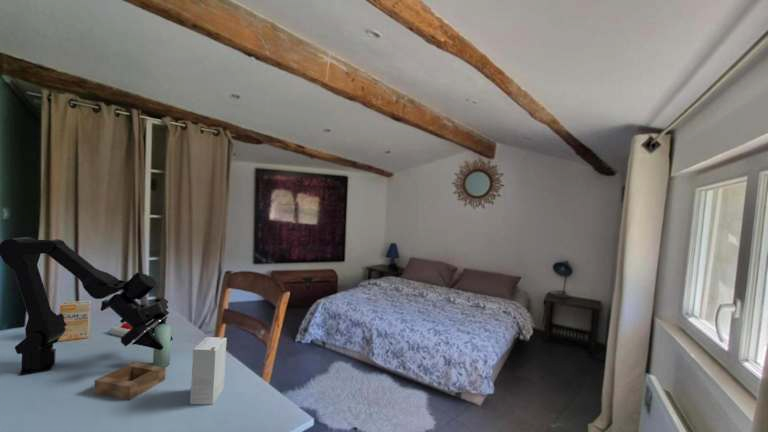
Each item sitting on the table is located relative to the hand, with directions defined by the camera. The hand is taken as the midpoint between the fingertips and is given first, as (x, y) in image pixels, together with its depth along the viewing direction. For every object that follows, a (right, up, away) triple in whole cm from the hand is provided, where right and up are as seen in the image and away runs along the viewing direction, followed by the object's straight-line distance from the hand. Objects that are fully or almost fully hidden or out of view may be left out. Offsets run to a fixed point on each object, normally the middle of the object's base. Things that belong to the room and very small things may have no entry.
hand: (167, 344), depth 109 cm
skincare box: (+21, -8, -16) cm, 28 cm away
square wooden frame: (-2, -7, -13) cm, 15 cm away
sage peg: (-2, -7, 0) cm, 7 cm away
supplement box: (-44, -4, +17) cm, 47 cm away
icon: (-29, -5, +25) cm, 38 cm away
